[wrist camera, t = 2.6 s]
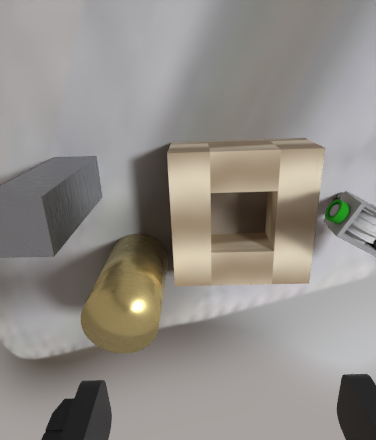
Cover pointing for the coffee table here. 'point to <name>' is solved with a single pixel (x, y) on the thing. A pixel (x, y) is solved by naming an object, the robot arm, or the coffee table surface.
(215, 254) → the socket block
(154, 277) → the round brass bit
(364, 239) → the mechanical component
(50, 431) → the robot arm
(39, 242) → the bar
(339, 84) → the coffee table surface
